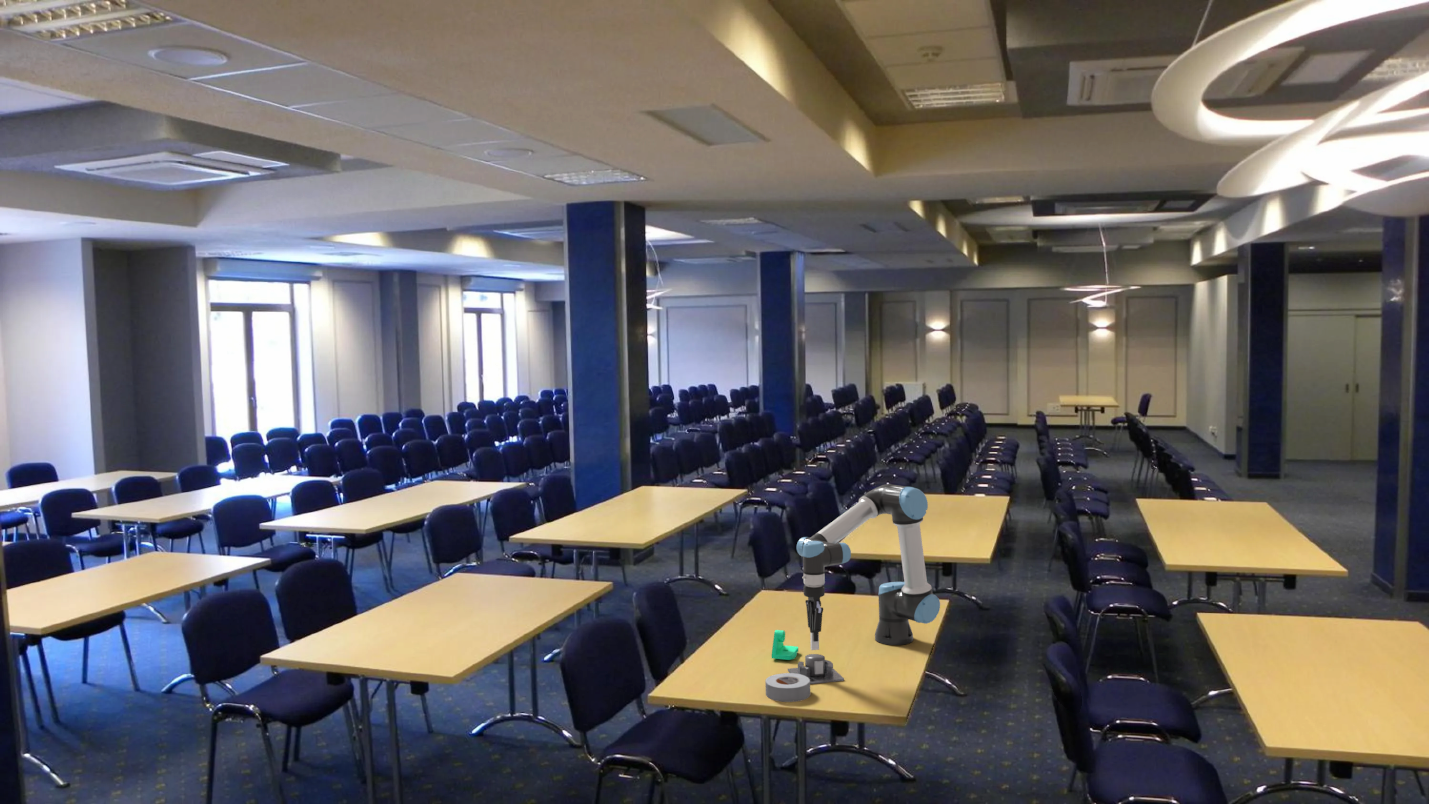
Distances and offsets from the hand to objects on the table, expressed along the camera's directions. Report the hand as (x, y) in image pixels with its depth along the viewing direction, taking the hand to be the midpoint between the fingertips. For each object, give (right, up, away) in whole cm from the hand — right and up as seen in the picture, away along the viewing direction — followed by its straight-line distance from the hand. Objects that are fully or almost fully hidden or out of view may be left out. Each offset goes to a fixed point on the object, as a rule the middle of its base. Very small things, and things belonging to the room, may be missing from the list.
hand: (814, 649), depth 361 cm
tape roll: (-11, -12, -17) cm, 23 cm away
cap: (0, -9, +1) cm, 9 cm away
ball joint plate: (0, -10, +1) cm, 10 cm away
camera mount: (-9, -9, +23) cm, 27 cm away
